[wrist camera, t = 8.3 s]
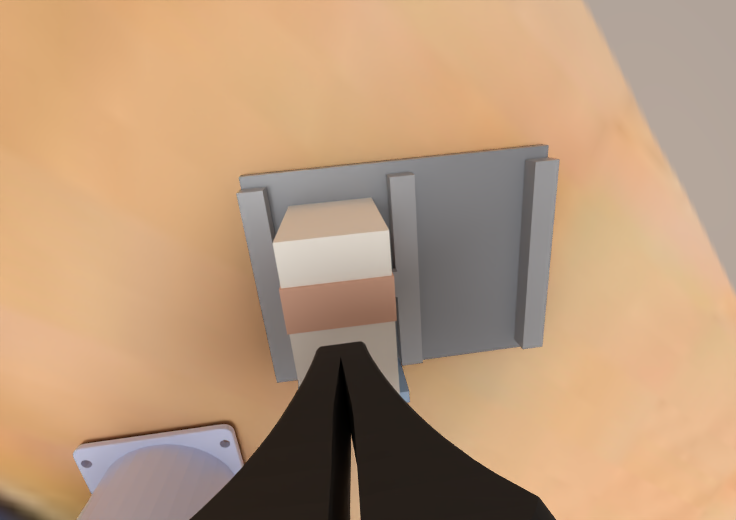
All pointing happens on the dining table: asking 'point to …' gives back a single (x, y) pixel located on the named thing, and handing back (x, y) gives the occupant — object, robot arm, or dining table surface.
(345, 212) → the block
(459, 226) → the grey ribbed plate
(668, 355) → the dining table surface
